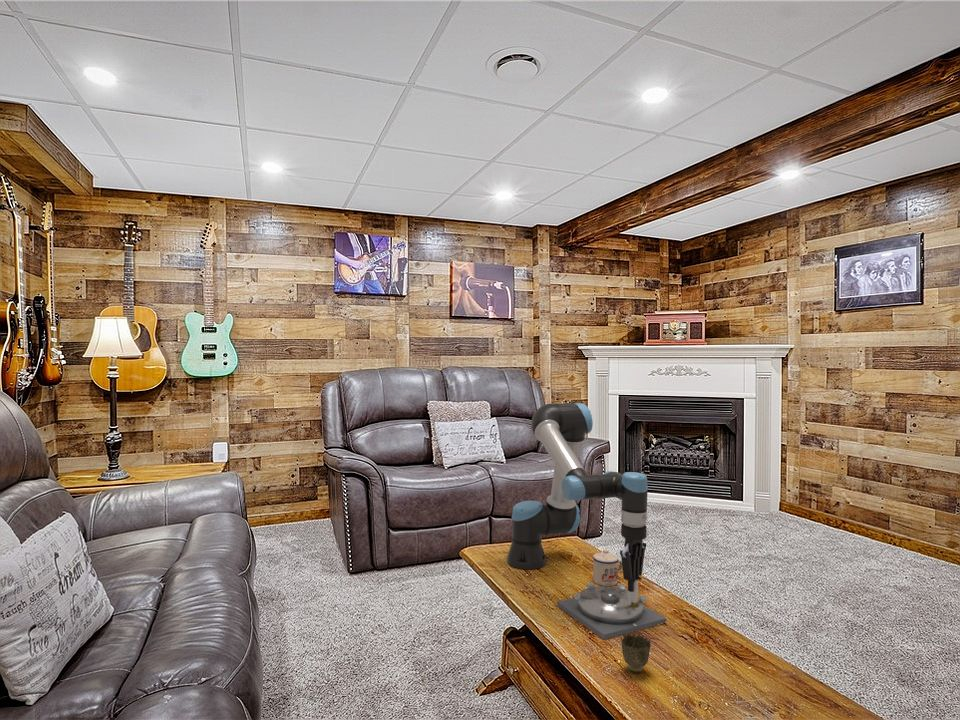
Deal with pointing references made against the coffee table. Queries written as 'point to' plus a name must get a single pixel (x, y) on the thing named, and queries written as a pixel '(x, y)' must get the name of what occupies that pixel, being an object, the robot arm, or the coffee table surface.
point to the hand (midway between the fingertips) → (632, 600)
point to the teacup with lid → (606, 568)
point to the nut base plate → (610, 629)
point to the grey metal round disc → (609, 604)
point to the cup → (635, 651)
